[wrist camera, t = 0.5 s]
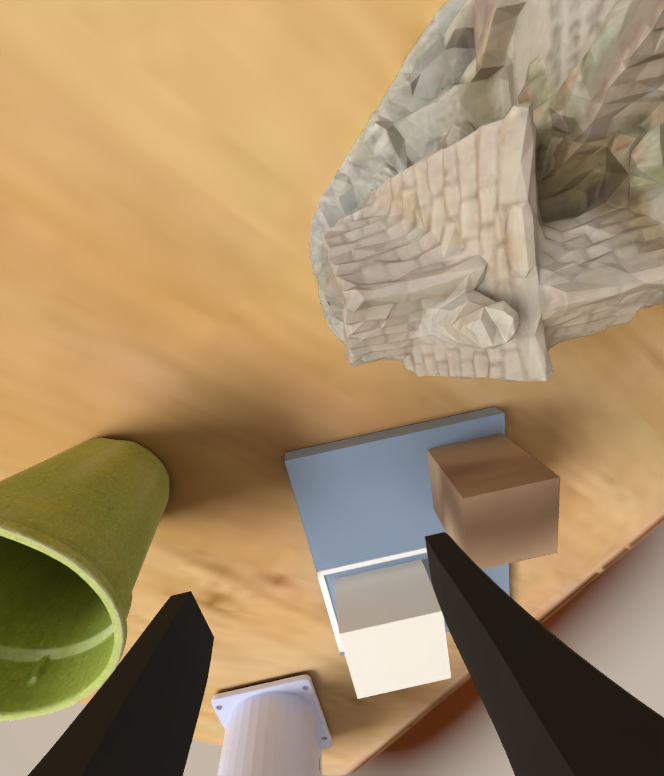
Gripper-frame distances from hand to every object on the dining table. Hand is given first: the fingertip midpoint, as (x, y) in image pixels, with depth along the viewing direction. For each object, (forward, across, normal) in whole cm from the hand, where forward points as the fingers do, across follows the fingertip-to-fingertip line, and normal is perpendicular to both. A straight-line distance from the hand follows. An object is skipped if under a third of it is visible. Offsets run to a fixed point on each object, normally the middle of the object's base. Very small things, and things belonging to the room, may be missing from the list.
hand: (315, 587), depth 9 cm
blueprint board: (+10, -5, +9) cm, 14 cm away
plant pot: (+10, +12, 0) cm, 15 cm away
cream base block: (+9, -2, +13) cm, 16 cm away
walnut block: (+9, -9, +4) cm, 13 cm away
